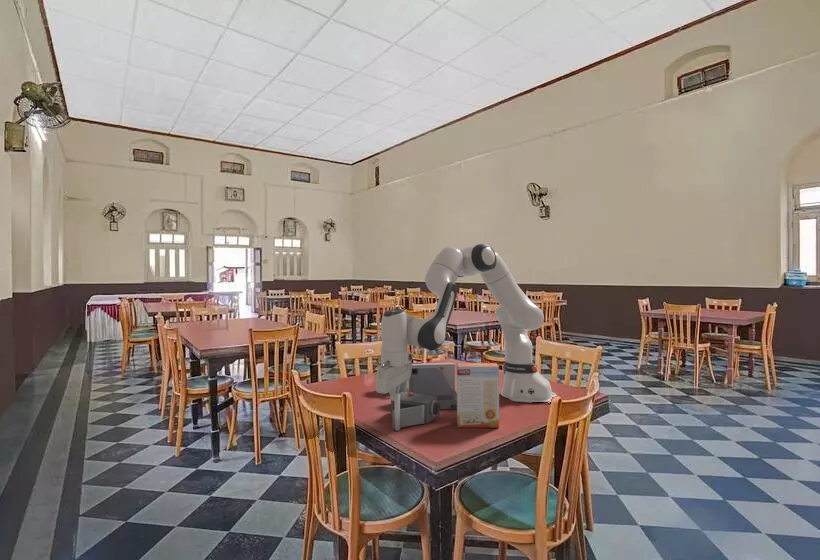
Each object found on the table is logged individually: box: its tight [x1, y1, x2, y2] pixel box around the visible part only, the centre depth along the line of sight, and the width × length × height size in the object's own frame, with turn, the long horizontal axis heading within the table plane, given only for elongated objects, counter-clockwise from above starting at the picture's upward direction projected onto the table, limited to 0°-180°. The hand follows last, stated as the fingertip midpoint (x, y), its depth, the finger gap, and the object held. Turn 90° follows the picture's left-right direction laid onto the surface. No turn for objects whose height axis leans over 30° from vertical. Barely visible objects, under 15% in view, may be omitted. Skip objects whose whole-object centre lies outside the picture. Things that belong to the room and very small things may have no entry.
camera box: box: [390, 392, 441, 424], centre depth 157 cm, size 16×9×8 cm, turn 67°
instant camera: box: [407, 362, 457, 410], centre depth 174 cm, size 21×21×15 cm
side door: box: [392, 393, 425, 431], centre depth 147 cm, size 12×3×12 cm, turn 117°
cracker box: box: [456, 362, 500, 429], centre depth 149 cm, size 14×6×21 cm, turn 86°
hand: (394, 399), depth 146 cm, fingers closed
